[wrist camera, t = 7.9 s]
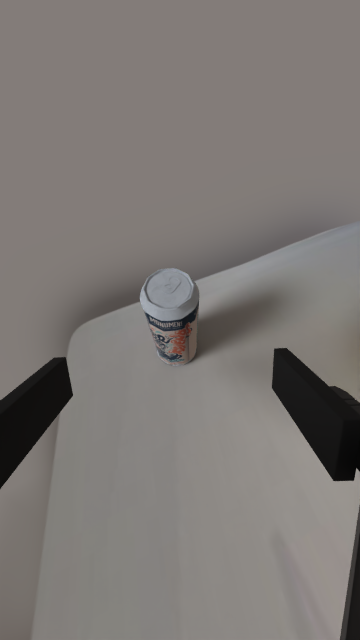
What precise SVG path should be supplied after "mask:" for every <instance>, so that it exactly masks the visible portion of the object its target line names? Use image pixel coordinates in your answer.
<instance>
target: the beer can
mask: <svg viewBox="0 0 360 640" xmlns="http://www.w3.org/2000/svg"><path fill="white" fill-rule="evenodd" d="M140 302H141V305H142V308H143V309H144V312H145V315H146V318H147V321H148V324H149V327H150V330H151V333H152V336H153V339H154V342H155V345H156V348H157V352H158V355H159V357H160V358H161V360H162V361H164V362H165V363H167V364H169V365H173V366H179V365H184V364H186V363H188V362H189V361H190V360H192V358H193V357H194V356H195V354H196V350H197V332H198V309H199V290H198V287H197V285H196V283H195V282H194V281H193V280H192V278H190V276H189V275H188V274H187V273H185V272H183V271H180V270H178V269H176V268H169V269H159V270H158V271H156V272H155V273H153V274H152V275H150V276H149V277H148V278H147V280H146V282H145V284H144V286H143V287H142V290H141V293H140Z"/></svg>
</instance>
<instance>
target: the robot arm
mask: <svg viewBox="0 0 360 640" xmlns="http://www.w3.org/2000/svg"><path fill="white" fill-rule="evenodd" d="M272 389H273V390H274V392H275V393H276V395H277V396H278V398H279V399H280V401H281V402H282V404H283V405H284V407H285V408H286V410H287V411H288V413H289V414H290V416H291V417H292V419H293V420H294V422H295V423H296V425H297V426H298V428H299V429H300V431H301V433H302V434H303V436H304V437H305V439H306V440H307V442H308V443H309V445H310V446H311V448H312V449H313V451H314V452H315V454H316V455H317V457H318V458H319V460H320V461H321V463H322V464H323V466H324V467H325V469H326V470H327V472H328V473H329V475H330V476H331V478H332V479H333V481H354V478H355V472H356V468H357V469H358V470H359V471H360V403H359V402H358V401H357V400H355V398H353V397H352V396H351V395H350V394H349V393H347V392H346V391H344V390H342V389H340V388H338V387H336V386H328V385H327V384H326V383H325V382H324V381H322V380H321V379H320V378H319V377H318V376H317V375H316V374H315V373H314V372H313V371H311V370H310V369H309V368H308V367H307V366H306V365H305V364H304V363H303V362H302V361H300V360H299V359H298V358H297V357H296V356H295V355H294V354H293V353H292V352H290V351H289V350H288V349H287V348H277V349H274V362H273V379H272ZM72 396H73V393H72V387H71V382H70V377H69V372H68V366H67V361H66V357H61V358H53V359H52V360H50V361H49V362H48V363H47V364H45V365H44V366H43V367H42V368H40V369H39V370H38V371H37V372H36V373H35V374H33V375H32V376H30V377H29V378H28V379H27V380H26V381H24V382H23V383H22V384H21V385H19V386H18V387H17V388H16V389H14V390H13V391H12V392H10V393H9V394H8V395H7V396H6V397H4V398H3V399H2V400H0V489H1V487H2V486H3V485H4V483H5V482H6V481H7V480H8V478H9V477H10V476H11V474H12V473H13V472H14V471H15V469H16V468H17V467H18V465H19V464H20V463H21V462H22V460H23V459H24V458H25V456H26V455H27V454H28V453H29V451H30V450H31V449H32V447H33V446H34V445H35V444H36V442H37V441H38V440H39V439H40V437H41V436H42V435H43V433H44V432H45V431H46V430H47V428H48V427H49V426H50V424H51V423H52V422H53V421H54V419H55V418H56V417H57V415H58V414H59V413H60V412H61V410H62V409H63V408H64V406H65V405H66V404H67V403H68V401H69V400H70V399H71V397H72ZM340 640H360V507H359V513H358V520H357V527H356V534H355V541H354V547H353V554H352V561H351V568H350V575H349V581H348V588H347V595H346V602H345V608H344V615H343V622H342V629H341V636H340Z"/></svg>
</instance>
